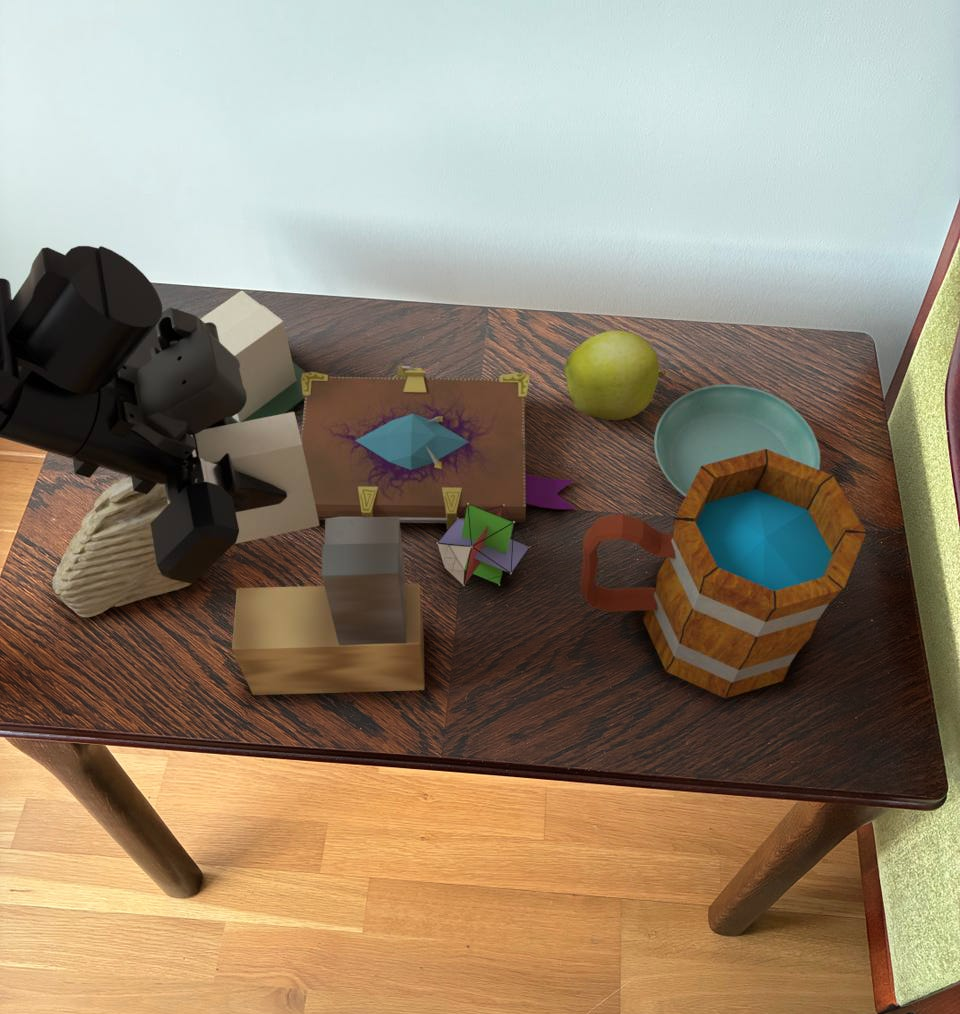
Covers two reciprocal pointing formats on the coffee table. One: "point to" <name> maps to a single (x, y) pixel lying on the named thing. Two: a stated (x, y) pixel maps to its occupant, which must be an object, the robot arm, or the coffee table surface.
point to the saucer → (728, 431)
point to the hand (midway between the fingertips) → (279, 480)
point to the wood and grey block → (337, 620)
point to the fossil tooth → (114, 553)
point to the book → (420, 447)
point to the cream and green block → (259, 356)
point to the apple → (612, 375)
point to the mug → (737, 570)
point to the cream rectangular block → (266, 471)
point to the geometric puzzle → (480, 546)
